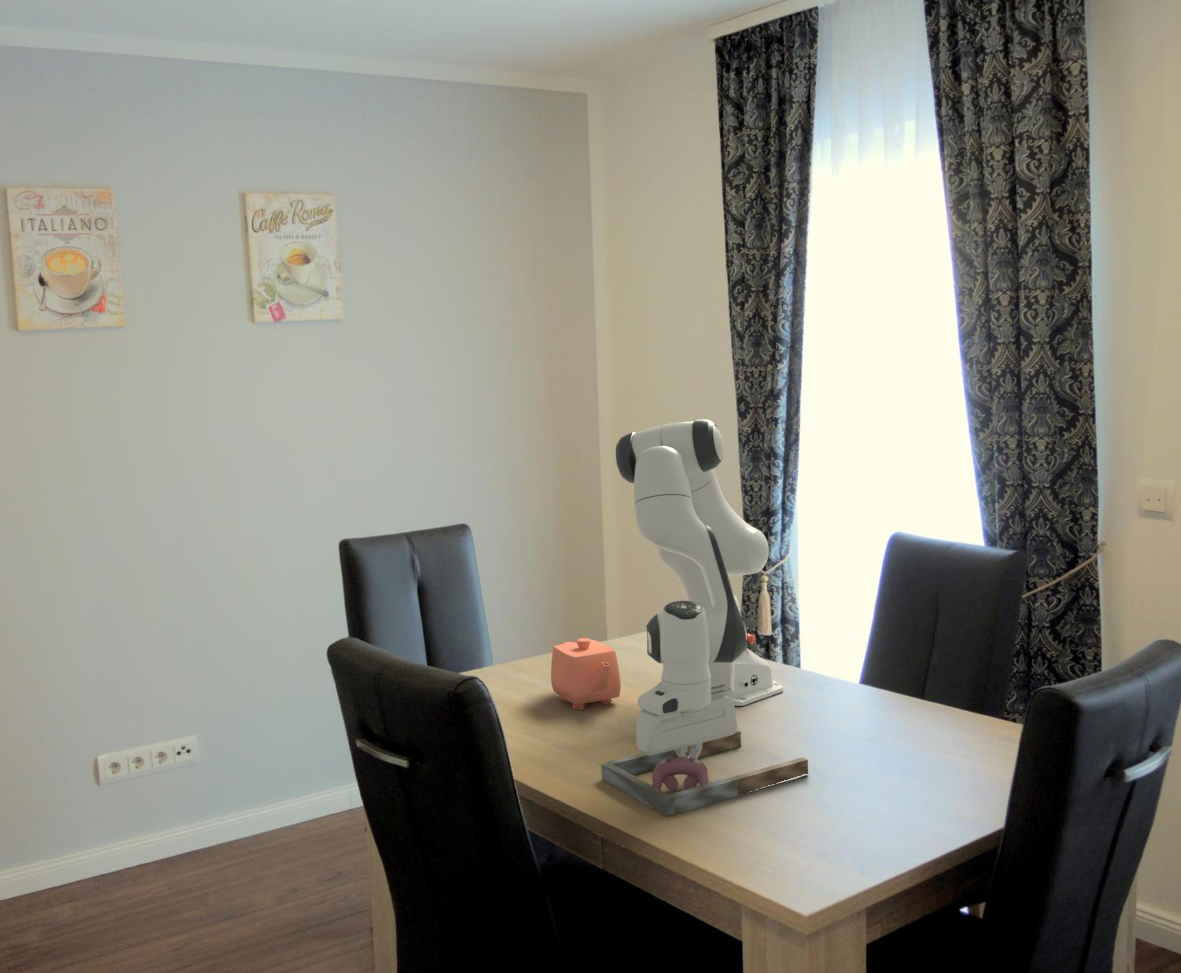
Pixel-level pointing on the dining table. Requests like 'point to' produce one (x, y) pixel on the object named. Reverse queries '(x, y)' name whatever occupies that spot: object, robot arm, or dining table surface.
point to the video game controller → (679, 766)
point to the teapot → (585, 672)
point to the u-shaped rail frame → (670, 804)
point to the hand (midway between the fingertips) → (689, 767)
